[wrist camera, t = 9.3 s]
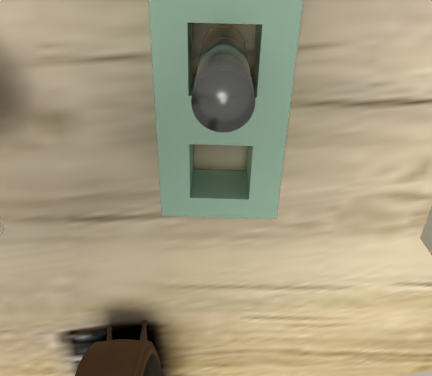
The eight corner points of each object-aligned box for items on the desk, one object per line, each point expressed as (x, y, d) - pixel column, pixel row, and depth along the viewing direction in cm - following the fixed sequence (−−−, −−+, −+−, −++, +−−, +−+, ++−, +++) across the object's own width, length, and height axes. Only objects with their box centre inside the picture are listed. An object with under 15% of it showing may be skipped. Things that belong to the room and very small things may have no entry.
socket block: (168, 186, 35) (161, 215, 31) (158, -18, 27) (147, -11, 23) (270, 189, 35) (276, 219, 31) (292, -14, 27) (304, -7, 23)
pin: (202, 67, 30) (191, 131, 19) (203, 24, 28) (191, 69, 18) (242, 68, 30) (252, 133, 19) (245, 25, 28) (257, 71, 18)
